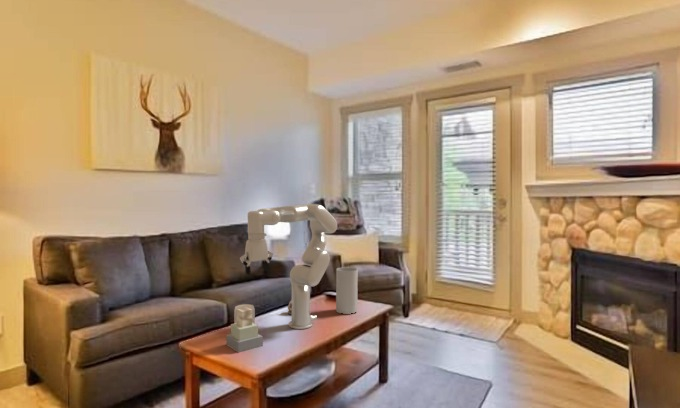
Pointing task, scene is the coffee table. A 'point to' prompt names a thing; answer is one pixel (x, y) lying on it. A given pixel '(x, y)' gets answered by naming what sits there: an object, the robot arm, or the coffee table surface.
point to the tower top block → (244, 331)
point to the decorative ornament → (290, 307)
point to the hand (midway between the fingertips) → (257, 272)
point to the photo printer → (244, 307)
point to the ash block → (244, 317)
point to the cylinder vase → (346, 290)
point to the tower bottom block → (244, 343)
